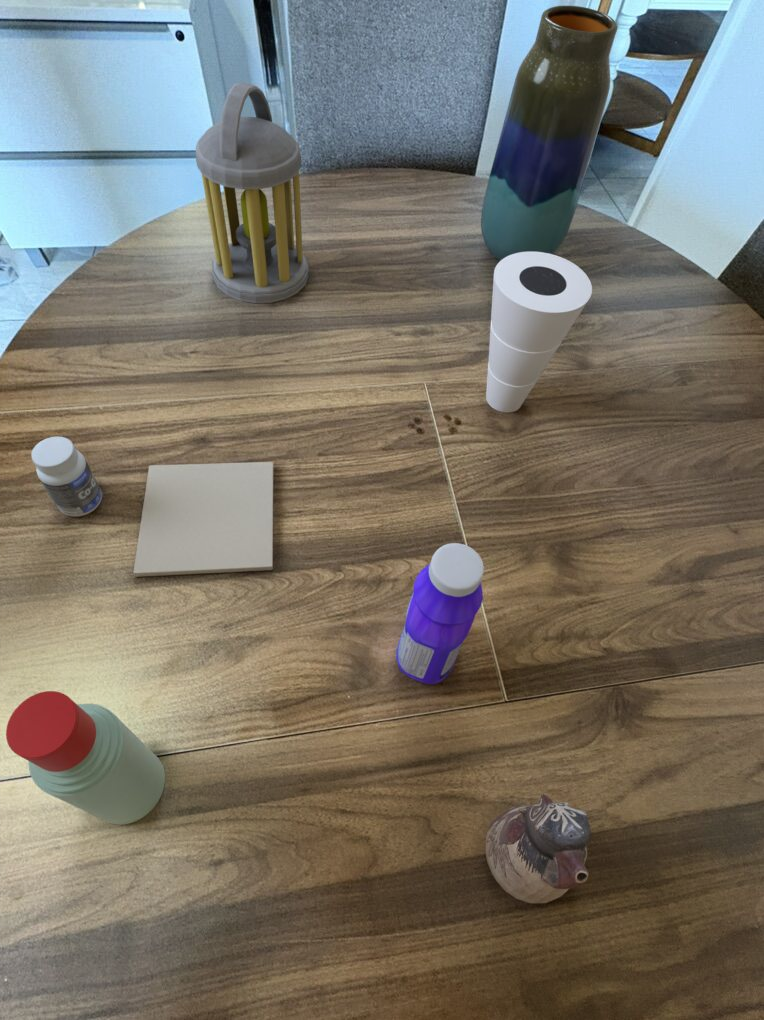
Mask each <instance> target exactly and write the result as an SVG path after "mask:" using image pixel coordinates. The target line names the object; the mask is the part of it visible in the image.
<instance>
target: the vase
mask: <svg viewBox="0 0 764 1020" xmlns="http://www.w3.org/2000/svg"><path fill="white" fill-rule="evenodd" d="M540 16H541V17H540V21H539V24H538V29H537V34H536V36H535V41H534V43H533V44H532V46H531V48H530V49H529V51H528V52H527V54H526V55H525V57H524V58H523V60H522V62H520V63H521V64H520V65H519V67H518V69H517V73H516V76H515V79H514V82H513V86H512V90H511V94H510V98H509V101H508V105H507V109H506V113H505V115H504V116H505V117H504V120H503V124H502V128H501V131H500V135H499V139H498V143H497V147H496V151H495V153H494V158H493V162H492V166H491V169H490V173H489V177H488V180H487V181H488V182H487V185H486V189H485V192H484V193H485V194H484V197H483V201H482V202H483V203H482V208H481V216H480V230H481V235H482V238H483V241H484V244H485V245H486V248H487V250H488V251H489V253H490V254H491V255H492V256H493V258H496V259H497V260H498V261H499V262H500V261H501V260H502V259H504V258H505V257H507V256H509V255H512V254H515V253H520V252H543V253H549V254H553V255H554V254H555V252H556V251H558V249H559V248H560V247H561V245H562V244H563V242H564V240H565V238H566V236H567V234H568V232H569V230H570V227H571V224H572V222H573V219H574V216H575V212H576V209H577V207H578V203H579V200H580V196H581V192H582V189H583V187H584V182H585V179H586V175H587V171H588V168H589V165H590V161H591V158H592V154H593V150H594V147H595V144H596V140H597V136H598V133H599V130H600V126H601V122H602V119H603V116H604V113H605V108H606V104H607V101H608V97H609V94H610V90H611V89H610V88H611V64H610V55H611V51H612V48H613V46H614V41H615V38H616V35H617V32H618V24H617V22H616V20H615V19H613V18H612V17H611V16H610V15H608V14H606V13H604V12H601V11H599V10H597V9H593V8H589V7H584V6H578V5H555V6H551V7H549V8H547V9H545V10H544V11H543V12H542V13H541V15H540Z"/></svg>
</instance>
